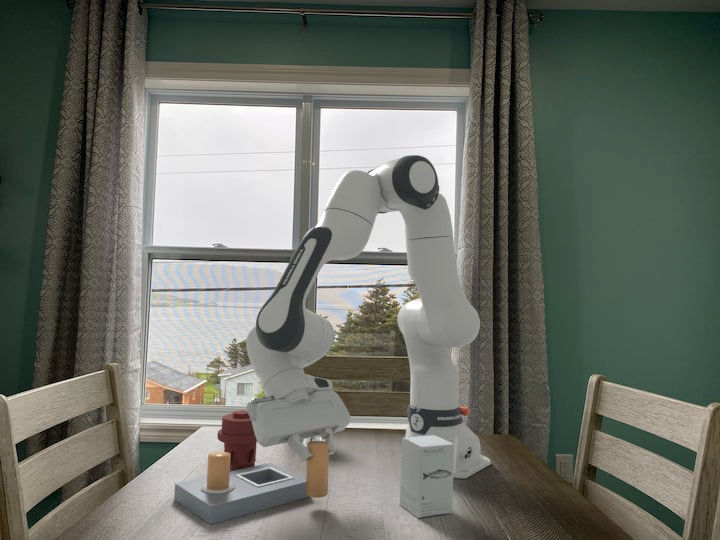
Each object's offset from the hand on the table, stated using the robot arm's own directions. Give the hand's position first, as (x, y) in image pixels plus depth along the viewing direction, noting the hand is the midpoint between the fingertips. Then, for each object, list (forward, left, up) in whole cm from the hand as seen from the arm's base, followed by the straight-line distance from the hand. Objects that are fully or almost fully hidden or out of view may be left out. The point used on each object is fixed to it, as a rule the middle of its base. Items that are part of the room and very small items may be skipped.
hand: (319, 456), depth 100 cm
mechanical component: (-1, -29, -10) cm, 30 cm away
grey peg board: (+8, -13, -9) cm, 18 cm away
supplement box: (-16, +12, -10) cm, 22 cm away
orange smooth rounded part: (0, -1, -7) cm, 7 cm away
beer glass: (-26, -34, -10) cm, 43 cm away
